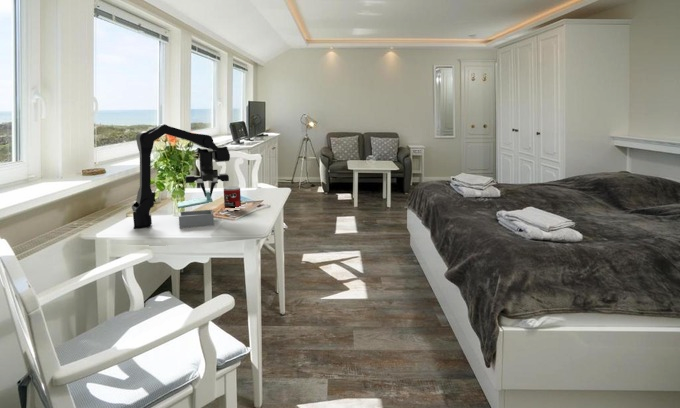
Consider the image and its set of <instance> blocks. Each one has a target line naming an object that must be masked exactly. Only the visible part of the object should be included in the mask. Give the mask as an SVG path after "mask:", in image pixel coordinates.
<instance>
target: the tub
mask: <svg viewBox="0 0 680 408" xmlns="http://www.w3.org/2000/svg"><path fill="white" fill-rule="evenodd" d="M214 219H215V217H214V212H213V209H204V210H203V209H202V210H201V209H200V210H190V211H189V210H188V211H187V210H186V211H178V223H179V224H178V225H179V229H186V228H188V229H189V228H197V227H211V226H215V220H214Z"/></svg>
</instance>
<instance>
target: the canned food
mask: <svg viewBox="0 0 680 408" xmlns="http://www.w3.org/2000/svg"><path fill="white" fill-rule="evenodd" d="M241 200H242V199H241V187H239V186H226V187H223V204H224V206H223V207H224V209H225V208H235V207H239V206H241V207H242V201H241Z"/></svg>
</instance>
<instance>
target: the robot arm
mask: <svg viewBox="0 0 680 408" xmlns="http://www.w3.org/2000/svg"><path fill="white" fill-rule="evenodd" d="M165 135H168V136H171V137H175V138H178V139H182V140H186V141H188V142H191V143H192V144H193V145H197V146H198V147H197V148H196V149H195V150H194V151H193V153H195V154H198V159H199V170H200V171H199V175H200V176H195V175H194V174H186V175H185V177H184V178H185V183H186V184H194V183H195V181H196V184H197V185H199V186H200V187H201V189H202V192H203V194H204V197H206V191H205V190H206V186H205V182H206V183H207V182H210V183H209V185H210V187H209V192H210V197H211V198H212V194H213V191H214V188H215V186H216V184H218V183H219V180H220V181H221V182H229V180H230V177H229V176H230V175H229V174H228V173H218V172H219V171H218V169H214V163H213V162H214V161H215V162H216V163H222V162H229V161H230V159H231V154H230V152H229V148H228V146H220V147H219V146H217V145H216V143H215V142H214V140H213V137H212V136H211V135H210V134H202V133H194V132H190V131H186V130H183V129H180V128H177V127H173V126H170V125H167V124H164V123H161V124H158V125H157V126H155V127H153V128H151V129H148V130H145V131H140V132H138V133H137V134H136V138H135V139H136V140H135V141H136V145H137V149H138V152H139V188H138V191H137V196H136V201H135V202H134V203H133V204H132V205H131V209H132V211H133V212H132V217H133V229H141V228H144V229H145V228H151V226H152V224H153V223H152V222H153V221H152V214H151V213H150V211H151V209H152V208H153V207H154V206H155V203H156V201H157V200H156V192H155V191H154V190H152V188H151V187H152V185H151V181H152V180H151V177H152V175H151V174H152V173H151V169H152V168H151V167H152V166H151V165H152V162H151V160H152V158H151V157H152V156H151V153H153V152H152V151H153V149H154V144H155V141H156V140H158V139H160V138H161V137H162V136H165Z"/></svg>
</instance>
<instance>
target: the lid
mask: <svg viewBox="0 0 680 408" xmlns="http://www.w3.org/2000/svg"><path fill="white" fill-rule="evenodd" d="M205 191H206V197H205V196H204V197H200V198H195V199H189V200H184V201H178V202H177V209H185V208H190V207H196V206H199V205H200V206H201V205H207V204H209V203H213V198H212V196H211V197H210V189H205Z"/></svg>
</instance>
